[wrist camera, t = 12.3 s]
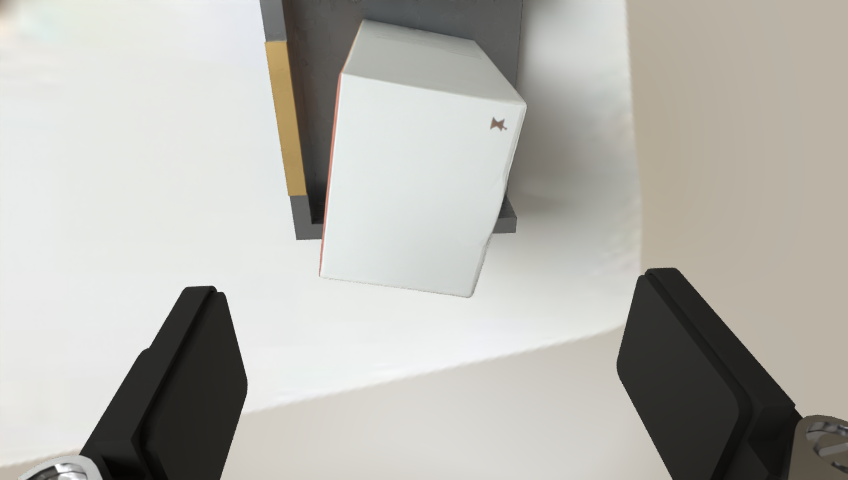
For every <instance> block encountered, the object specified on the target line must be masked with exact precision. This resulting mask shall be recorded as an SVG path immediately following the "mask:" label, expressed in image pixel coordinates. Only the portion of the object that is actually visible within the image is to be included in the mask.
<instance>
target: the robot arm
mask: <svg viewBox="0 0 848 480" xmlns="http://www.w3.org/2000/svg"><path fill="white" fill-rule="evenodd" d="M617 372H618V375H619V378H620V380H621V382H622V384H623V386H624V387H625V389H626V391H627V393H628V395H629V397H630V399H631V401H632V403H633V405H634V407H635V408H636V410H637V412H638V414H639V416H640V418H641V420H642V422H643V424H644V426H645V427H646V430H647V431H648V433H649V435H650V437H651V439H652V441H653V443H654V445H655V446H656V449H657V451H658V452H659V454H660V456H661V458H662V460H663V462H664V464H665V466H666V468H667V470H668V472H669V474H670V475H671V477H672V479H673V480H848V422H847V421H844V420H841V419H838V418H835V417H832V416H824V415H813V416H806V417H805V418H803V417H802V416H801V415H800V414H799V413H798V412H797V410H796V409H795V408H794V407H795V404H794V402H793V401H792V400H791V399H790V398H789V397H788V396H787V394H786V393H785V392H784V391H783V390H782V389H781V387H780V386H779V385H778V384H777V383H776V382H775V381H774V379H773V378H772V377H771V376H770V375H769V374H768V373H767V372H766V370H765V369H764V368H763V367H762V366H761V364H760V363H759V362H758V361H757V360H756V359H755V357H754V356H753V355H752V354H751V353H750V352H749V351H748V349H747V348H746V347H745V346H744V345H743V344H742V343H741V341H740V340H739V339H738V338H737V337H736V336H735V335H734V333H733V332H732V331H731V330H730V329H729V328H728V326H727V325H726V324H725V323H724V322H723V321H722V320H721V318H720V317H719V316H718V315H717V314H716V313H715V312H714V310H713V309H712V308H711V307H710V306H709V305H708V304H707V303H706V301H705V300H704V299H703V298H702V297H701V295H700V294H699V293H698V292H697V291H696V290H695V289H694V287H693V286H692V285H691V284H690V283H689V282H688V281H687V279H686V278H685V277H684V276H683V275H682V274H681V273H680V271H679V270H677V269H676V268H653V269H648V270H647V271H646V272H645V275H641V276H639V278H638V280H637V283H636V287H635V291H634V295H633V299H632V303H631V307H630V311H629V315H628V319H627V323H626V327H625V331H624V335H623V339H622V343H621V347H620V351H619V355H618V359H617ZM247 386H248V384H247V377H246V373H245V369H244V365H243V361H242V357H241V353H240V350H239V346H238V342H237V338H236V334H235V330H234V326H233V322H232V319H231V315H230V311H229V307H228V303H227V299H226V296H225V294H224V293H223V292H217V290H216V288H215V287H214V286H196V287H186V288H185V289H184V290H183V291H182V293H181V295H180V296H179V298H178V300H177V301H176V303H175V305H174V307H173V308H172V310H171V312H170V313H169V315H168V317H167V318H166V320H165V322H164V324H163V325H162V327H161V329H160V330H159V332H158V334H157V335H156V337H155V339H154V341H153V342H152V344H151V346H150V347H149V348H147V349H145V350H143V351H142V352H141V353H140V355H139V356H138V357H137V359H136V361H135V362H134V364H133V366H132V367H131V369H130V371H129V372H128V374H127V376H126V377H125V379H124V381H123V382H122V384H121V386H120V387H119V389H118V391H117V392H116V394H115V396H114V397H113V399H112V401H111V402H110V404H109V406H108V407H107V409H106V411H105V412H104V414H103V416H102V417H101V419H100V421H99V422H98V424H97V426H96V427H95V429H94V430H93V432H92V434H91V435H90V437H89V439H88V440H87V442H86V444H85V445H84V447H83V449H82V450H81V452H80V454H79V455H67V456H62V457H58V458H54V459H51V460H49V461H46V462H44V463H41V464H39V465H37V466H35V467H34V468H32V469H31V470H29V471H28V472H26V473H24V474H23V475H21V476H20V477H19V478H18V479H17V480H220V478H221V475H222V471H223V468H224V465H225V462H226V459H227V456H228V452H229V449H230V446H231V443H232V440H233V436H234V433H235V430H236V427H237V424H238V421H239V417H240V414H241V411H242V408H243V405H244V401H245V398H246V395H247Z"/></svg>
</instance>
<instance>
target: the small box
mask: <svg viewBox="0 0 848 480" xmlns="http://www.w3.org/2000/svg"><path fill="white" fill-rule="evenodd" d="M526 110H527V103H526V102H525V101H524V100H523V98H522V97H521V96H520V95H519V94H518V92H517V91H516V90H515V89H514V88H513V86H512V85H511V84H510V83H509V82H508V80H507V79H506V78H505V77H504V76H503V74H502V73H501V72H500V71H499V70H498V68H497V67H496V66H495V65H494V64H493V62H492V61H491V60H490V59H489V57H488V56H487V55H486V54H485V53H484V51H483V50H482V49H481V48H480V47H479V45H478V44H477V43H476V42H475V41H474V40H469V39H463V38H458V37H453V36H448V35H443V34H438V33H433V32H428V31H423V30H418V29H413V28H408V27H403V26H398V25H393V24H388V23H383V22H378V21H373V20H368V19H363V20H362V22H361V24H360V27H359V30H358V32H357V35H356V37H355V39H354V42H353V44H352V47H351V49H350V52H349V54H348V57H347V59H346V62H345V64H344V66H343V68H342V70H341V73H340V74H339V80H338V86H337V95H336V104H335V114H334V124H333V133H332V142H331V153H330V164H329V174H328V184H327V193H326V203H325V215H324V226H323V236H322V244H321V256H320V268H319V277H321V278H325V279H333V280H341V281H348V282H357V283H365V284H372V285H380V286H388V287H396V288H404V289H411V290H418V291H425V292H432V293H439V294H446V295H453V296H460V297H466V298H470V297H471V296H472V295H473V293H474V290H475V287H476V284H477V281H478V278H479V275H480V271H481V268H482V265H483V262H484V258H485V255H486V252H487V248H488V245H489V242H490V239H491V235H492V232H493V229H494V226H495V224H496V221H497V218H498V216H499V212H500V209H501V205H502V202H503V197H504V194H505V191H506V187H507V181H508V176H509V172H510V168H511V165H512V161H513V157H514V153H515V150H516V147H517V143H518V139H519V135H520V131H521V128H522V125H523V121H524V117H525V114H526Z"/></svg>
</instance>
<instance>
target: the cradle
mask: <svg viewBox="0 0 848 480" xmlns="http://www.w3.org/2000/svg"><path fill="white" fill-rule="evenodd" d="M522 2H523V0H260V6H261V13H262V19H263V25H264V32H265V38H266V42H265V48H266V55H267V61H268V68H269V74H270V80H271V87H272V93H273V100H274V106H275V113H276V119H277V125H278V132H279V138H280V145H281V151H282V158H283V164H284V170H285V177H286V183H287V190H288V196H290V201H291V207H292V214H293V220H294V227H295V233H296V240H310V239H322V236H323V226H324V215H325V203H326V193H327V184H328V174H329V164H330V153H331V142H332V133H333V124H334V114H335V104H336V95H337V86H338V80H339V74H340V73H341V70H342V68H343V66H344V64H345V62H346V59H347V57H348V54H349V52H350V49H351V47H352V44H353V42H354V39H355V37H356V35H357V32H358V30H359V27H360V24H361V22H362V20H363V19H368V20H373V21H378V22H383V23H388V24H393V25H398V26H403V27H408V28H413V29H418V30H423V31H428V32H433V33H438V34H443V35H448V36H453V37H458V38H463V39H469V40H474V41H475V42H476V43H477V44H478V45H479V47H480V48H481V49H482V50H483V51H484V53H485V54H486V55H487V56H488V57H489V59H490V60H491V61H492V62H493V64H494V65H495V66H496V67H497V68H498V70H499V71H500V72H501V73H502V74H503V76H504V77H505V78H506V79H507V80H508V82H509V83H510V84H511V85H512V86H513V88H514V89H516V77H517V64H518V52H519V40H520V27H521V15H522ZM508 177H509V176H508ZM507 189H508V181H507V187H506V191H505V194H504V197H503V202H502V205H501V209H500V212H499V216H498V218H497V221H496V224H495V226H494V229H493V232H492V233H515V232H516V221H517V217H516V215H515V213H514V211H513V208H512V206H511V204H510V202H509V200H508V198H507Z"/></svg>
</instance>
